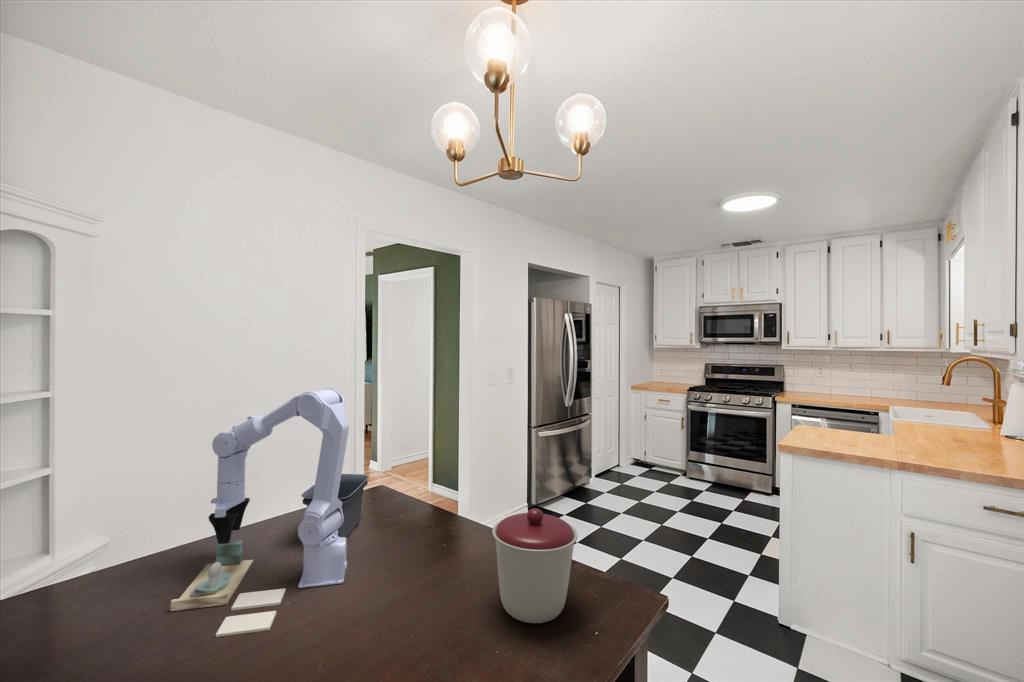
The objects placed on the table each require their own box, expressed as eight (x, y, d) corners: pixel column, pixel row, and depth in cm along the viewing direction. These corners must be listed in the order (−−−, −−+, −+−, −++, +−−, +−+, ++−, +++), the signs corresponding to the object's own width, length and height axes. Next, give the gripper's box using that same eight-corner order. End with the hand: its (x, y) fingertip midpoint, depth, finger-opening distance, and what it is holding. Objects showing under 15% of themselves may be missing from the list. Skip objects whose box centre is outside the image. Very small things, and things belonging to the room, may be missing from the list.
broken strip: (285, 590, 98) (285, 588, 98) (269, 630, 84) (269, 627, 84) (239, 595, 95) (239, 593, 95) (215, 637, 82) (215, 634, 82)
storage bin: (345, 551, 117) (347, 497, 117) (287, 550, 117) (289, 496, 117) (370, 520, 138) (372, 474, 138) (321, 519, 138) (322, 473, 138)
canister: (582, 595, 99) (584, 501, 100) (565, 646, 82) (568, 532, 82) (506, 579, 105) (509, 490, 105) (476, 623, 88) (479, 517, 88)
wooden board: (253, 561, 110) (254, 539, 110) (226, 604, 92) (227, 578, 92) (207, 565, 107) (208, 543, 107) (170, 611, 89) (171, 584, 89)
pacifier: (182, 598, 93) (207, 601, 92) (182, 569, 93) (207, 571, 92) (211, 581, 100) (234, 583, 99) (211, 553, 100) (235, 555, 99)
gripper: (223, 472, 113) (221, 525, 113) (200, 490, 99) (198, 551, 99) (253, 471, 115) (252, 523, 115) (235, 488, 101) (233, 548, 101)
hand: (229, 536), depth 107 cm, fingers open, 7 cm apart
